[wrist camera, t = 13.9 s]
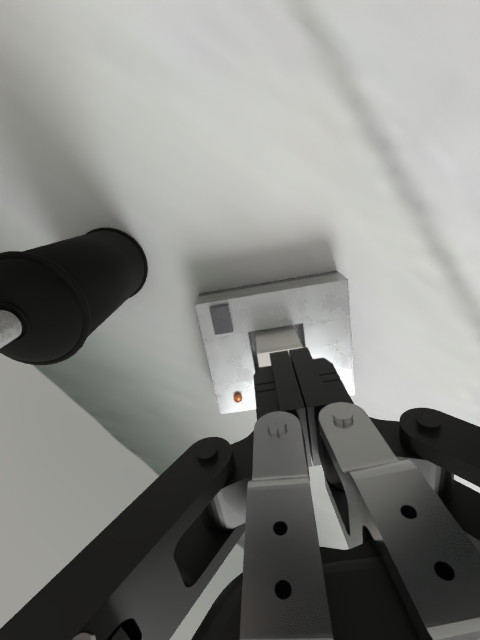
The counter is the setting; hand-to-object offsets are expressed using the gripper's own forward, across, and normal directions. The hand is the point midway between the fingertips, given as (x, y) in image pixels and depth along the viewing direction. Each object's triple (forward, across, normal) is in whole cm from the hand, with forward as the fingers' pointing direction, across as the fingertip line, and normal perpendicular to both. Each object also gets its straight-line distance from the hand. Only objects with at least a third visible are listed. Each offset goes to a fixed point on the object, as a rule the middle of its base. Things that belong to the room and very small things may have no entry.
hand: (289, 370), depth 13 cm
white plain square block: (+24, -1, +11) cm, 27 cm away
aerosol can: (+26, +16, -1) cm, 31 cm away
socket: (+25, -1, +11) cm, 28 cm away
